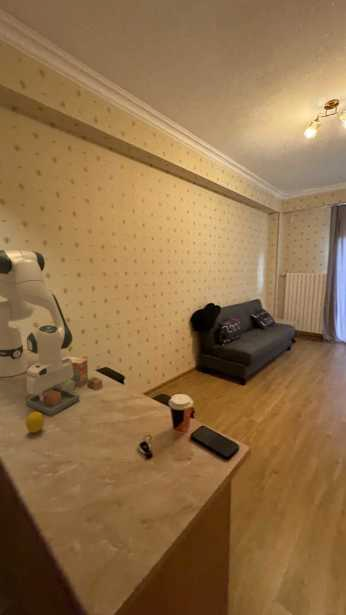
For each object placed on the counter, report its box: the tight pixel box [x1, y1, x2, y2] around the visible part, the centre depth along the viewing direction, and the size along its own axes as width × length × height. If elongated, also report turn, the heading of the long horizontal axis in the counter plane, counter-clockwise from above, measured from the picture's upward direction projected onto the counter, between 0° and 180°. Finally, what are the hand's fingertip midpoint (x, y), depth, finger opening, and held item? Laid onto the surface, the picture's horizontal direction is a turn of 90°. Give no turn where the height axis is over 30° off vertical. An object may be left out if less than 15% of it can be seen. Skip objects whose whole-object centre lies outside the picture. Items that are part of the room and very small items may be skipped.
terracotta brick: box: [43, 390, 61, 406], centre depth 114 cm, size 6×4×4 cm, turn 61°
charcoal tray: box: [25, 386, 80, 418], centre depth 114 cm, size 16×14×2 cm
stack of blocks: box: [62, 356, 89, 388], centre depth 135 cm, size 21×6×12 cm, turn 72°
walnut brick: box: [86, 376, 103, 391], centre depth 129 cm, size 6×4×4 cm, turn 57°
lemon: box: [25, 411, 45, 434], centre depth 94 cm, size 6×6×8 cm
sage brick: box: [57, 379, 76, 392], centre depth 126 cm, size 4×6×4 cm, turn 147°
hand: (52, 395), depth 114 cm, fingers open, 8 cm apart
